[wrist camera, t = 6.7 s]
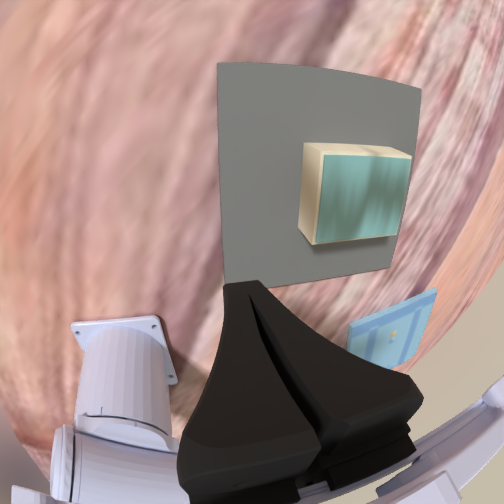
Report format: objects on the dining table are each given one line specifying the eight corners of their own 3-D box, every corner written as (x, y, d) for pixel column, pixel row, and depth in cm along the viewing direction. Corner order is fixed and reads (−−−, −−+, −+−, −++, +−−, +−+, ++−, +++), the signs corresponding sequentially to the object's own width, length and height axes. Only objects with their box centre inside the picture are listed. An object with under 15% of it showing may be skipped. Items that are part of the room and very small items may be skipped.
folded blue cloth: (409, 352, 38) (414, 357, 37) (339, 383, 36) (343, 390, 35) (431, 285, 30) (438, 291, 29) (347, 320, 29) (352, 328, 28)
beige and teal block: (297, 227, 21) (378, 220, 22) (312, 246, 18) (397, 235, 20) (303, 142, 17) (390, 146, 19) (322, 151, 15) (413, 156, 17)
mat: (386, 264, 25) (389, 267, 25) (225, 289, 23) (226, 293, 22) (417, 88, 17) (421, 89, 17) (216, 63, 14) (217, 62, 14)
